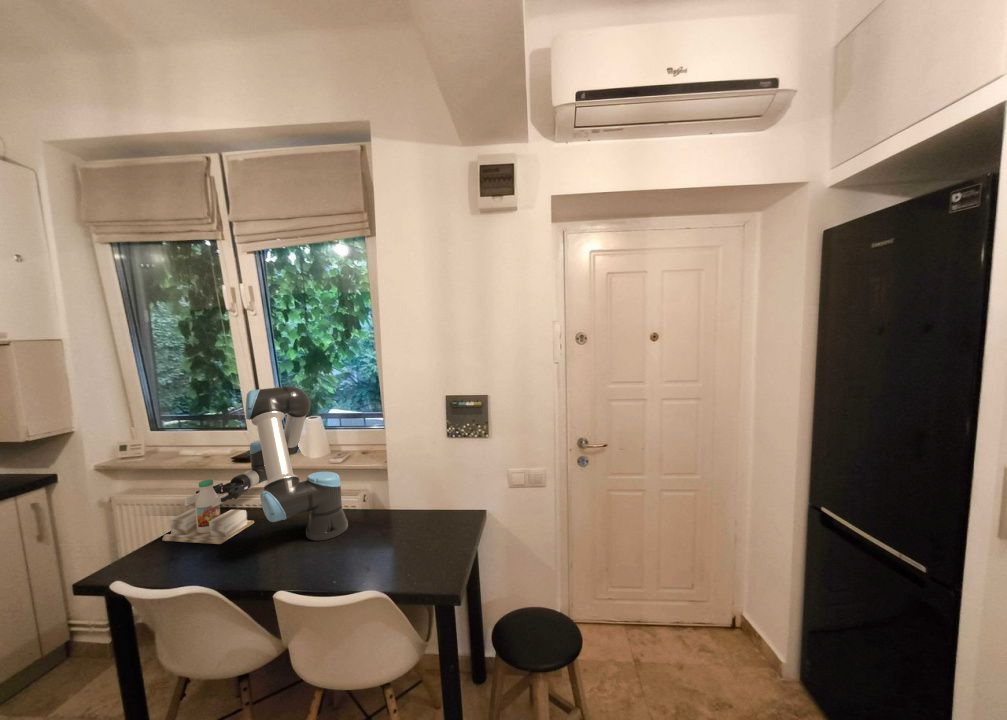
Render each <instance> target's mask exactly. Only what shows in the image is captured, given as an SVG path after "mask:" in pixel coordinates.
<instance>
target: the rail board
mask: <svg viewBox="0 0 1007 720" xmlns="http://www.w3.org/2000/svg"><path fill="white" fill-rule="evenodd" d="M169 524H170V525H169V526H170V534H169V533H166V534H163V537H162V541H163V542H164V541H165V542H180V543H197V544H198V543H199V544H215V545H221V544H223V543H225V542H226V541H228V540H229V539H231V538H233V537H234V536H235V535H237V534H239V533H241V532H242V531H243V530H245V529H247V528H249V527H250V526H252V525H253V524H255V520H252V519H251V520H248V512H247V510H246V509H230V510H228V511H226V512H224V513H222V514H221V515H220V516H218V517H216V518H215V519H213V520H211V521H209V527H210V532H209V533H203V534H200V533H198V532H197V523H196V507H193V508H191V509H188V510H186V511H184V512H183V513H181V514H178V515H176V516H174V517H172V518H171V519H169Z"/></svg>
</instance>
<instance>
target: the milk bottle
mask: <svg viewBox="0 0 1007 720" xmlns="http://www.w3.org/2000/svg"><path fill="white" fill-rule="evenodd" d="M213 486H214V480H213V479H205V480H202V481H200V482H198V489H199V490H200V492H199V495H198V497H197V499H196V502H195V508H196V523H197V532H198V533H200V534H203V533H209V532H210V527H209V521H211V520H213V519H215V518H216V517H218V516H220V515H222V514H221V506H220V505H221V504H219V505H217V506H215V507H212V503H211V500H213V499H216V498H218V497H219V494H217V493H216V492H215V491H214V489H213Z"/></svg>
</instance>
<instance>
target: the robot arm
mask: <svg viewBox="0 0 1007 720" xmlns="http://www.w3.org/2000/svg"><path fill="white" fill-rule="evenodd" d="M310 411H311V400H310V397H309V395H308V394H307V393H306V392H305V391H304V390H302V389H301V388H299V387H296V386H291V385H288V386H280V387H279V386H277V387H269V388H258V389H252V390H249V391H248V392H247V394H246V397H245V418H246V420H251V424H252V425H254V426H256V428H257V432H258V439H259V440H256V441H253V442H251V443H250V445H249V457H250V466H251V467H250V468H251V469H249V470H247V471H244V472H243V473H241V474H239V475H235V476H234V477H232V478H231V480H230V482H227V483H225V484H223V482H220V483H218V484H216V485H213V489H214V491H215V492H216V493H217V495H220V496H218V498H216V499H213V500H211V503H212V507H215V506H217V505H219V504H220V505H221V504H223V503H225V502H227V501H229V500H237V499H238V498H239V497H241V495H243V494H244V493H245V492H247V491H248V490H250V489H252V488H253V487H255V486H257V485H259V484H261V483H263V482H265V481H267V482H266V484H265V485H264V487H263V491H262V492H261V493H260V497H259V498H260V499H259V500H260V502H261V507H262V511H263V513H264V515H265V518H266V519H267V520H268V521H269V522H271V523H275V522H279V521H282V520H283V521H285V520H287V519H289V518H293V517H295V516H298V515H301V514H304V513H309V518H308V520H307V525H306V529H305V536H306V538H307V539H308V540H310V541H325V540H329V539H333V538H336V537H337V536H340V535H341V534H343V533H344V532H346V531H347V530H348V528H349V524H348V523H349V521H348V518H347V516H346V513H345V511H344V510H343V506H342V505H343V503H342V502H343V501H342V487H341V486H342V483H341V477H340V475H339V474H338V473H336V472H333V471H317V472H313V473H310V474H308V475H307V477H306V480H302V481H300V477H299V476H298V475H296V474H294V472H293V467H292V462H291V458H290V456H291V455H296V454H300V453H302V452H301V451H300V449H299V447H298V443H299V441H300V438H301V436H302V432H303V428H304V424H305V422H306V421H305V420H306V416H307V415H308V414H309V413H310ZM285 415H286V419H285ZM284 419H285V424H284V425H283V420H284ZM264 465H265V466H264ZM199 492H200V489H199V490H196V491H195V494H193V495H191V496H188V497H187V498H184V499H183V503H184V507H187V506H189V505H191V504H194V503H196V499H197V497H198V495H199Z"/></svg>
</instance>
